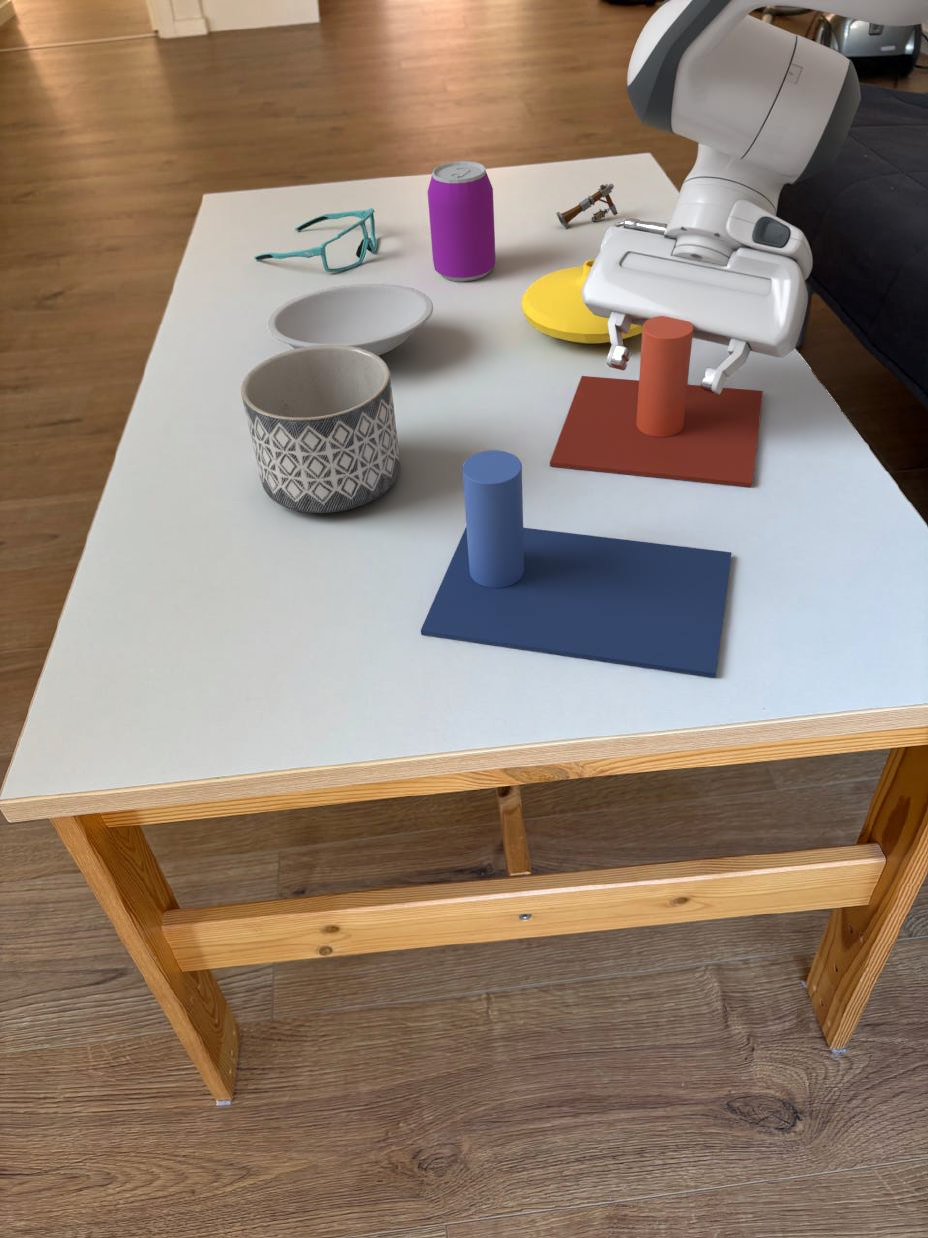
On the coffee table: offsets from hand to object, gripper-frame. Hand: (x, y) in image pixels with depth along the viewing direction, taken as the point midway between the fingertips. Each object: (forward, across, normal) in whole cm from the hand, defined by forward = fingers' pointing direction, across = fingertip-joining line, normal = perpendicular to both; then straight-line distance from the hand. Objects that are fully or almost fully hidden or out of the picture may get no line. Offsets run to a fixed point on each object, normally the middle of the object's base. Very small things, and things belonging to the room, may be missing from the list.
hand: (661, 378), depth 93 cm
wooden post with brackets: (-26, -30, +34) cm, 52 cm away
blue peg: (+22, -2, -14) cm, 26 cm away
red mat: (+4, 0, +4) cm, 6 cm away
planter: (+19, -22, -11) cm, 31 cm away
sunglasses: (-9, -56, +18) cm, 60 cm away
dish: (+5, -35, +3) cm, 36 cm away
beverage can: (-12, -36, +20) cm, 43 cm away
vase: (-8, -16, +16) cm, 24 cm away
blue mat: (+21, +5, -13) cm, 25 cm away
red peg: (+3, 0, +4) cm, 5 cm away
